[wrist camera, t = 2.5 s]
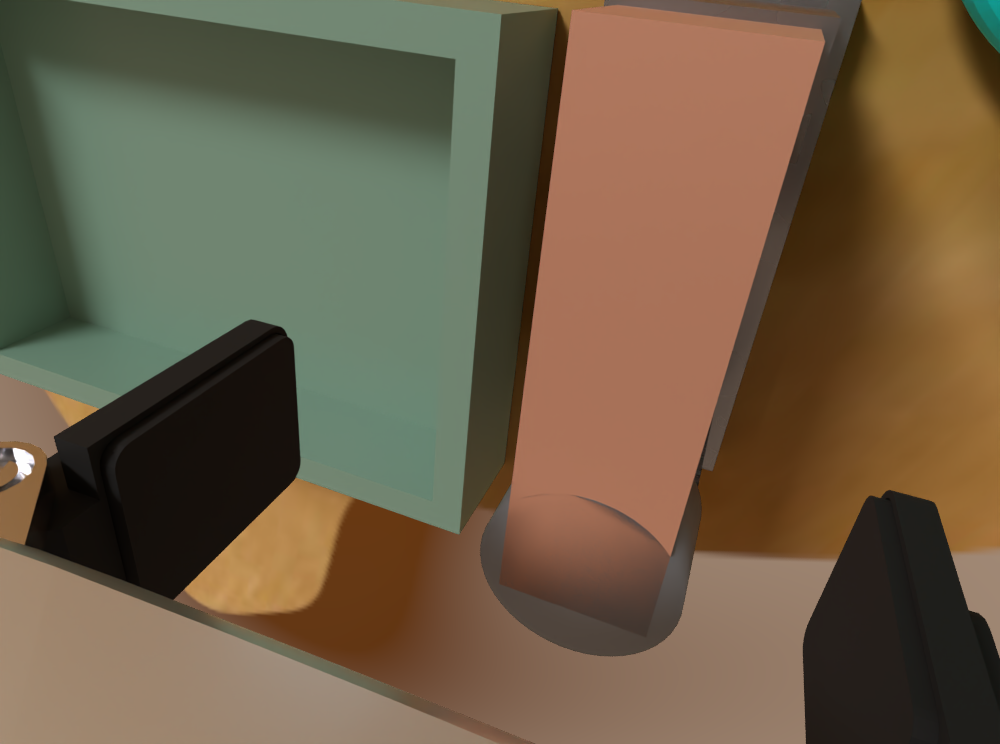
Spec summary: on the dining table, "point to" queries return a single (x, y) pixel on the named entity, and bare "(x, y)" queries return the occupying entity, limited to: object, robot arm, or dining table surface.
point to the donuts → (986, 18)
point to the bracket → (833, 10)
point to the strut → (639, 311)
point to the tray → (283, 214)
